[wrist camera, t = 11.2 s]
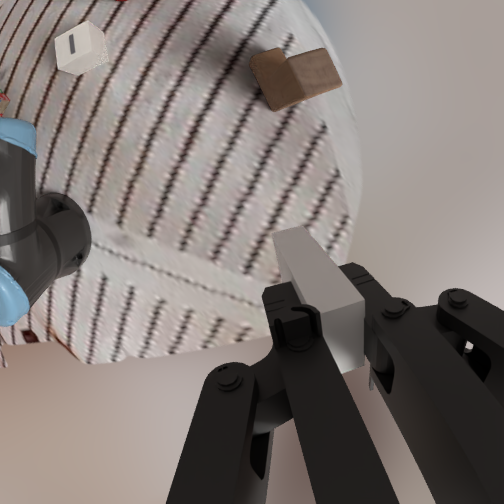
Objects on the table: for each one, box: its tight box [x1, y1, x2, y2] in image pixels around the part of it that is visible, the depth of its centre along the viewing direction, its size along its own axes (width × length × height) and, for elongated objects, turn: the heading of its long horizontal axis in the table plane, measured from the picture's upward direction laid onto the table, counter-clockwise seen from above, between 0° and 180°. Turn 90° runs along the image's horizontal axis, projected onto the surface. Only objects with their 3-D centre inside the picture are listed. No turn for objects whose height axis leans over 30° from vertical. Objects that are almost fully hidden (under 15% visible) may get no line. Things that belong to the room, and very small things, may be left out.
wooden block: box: [249, 48, 342, 112], centre depth 30 cm, size 9×4×18 cm, turn 25°
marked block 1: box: [55, 20, 109, 76], centre depth 29 cm, size 6×6×7 cm
